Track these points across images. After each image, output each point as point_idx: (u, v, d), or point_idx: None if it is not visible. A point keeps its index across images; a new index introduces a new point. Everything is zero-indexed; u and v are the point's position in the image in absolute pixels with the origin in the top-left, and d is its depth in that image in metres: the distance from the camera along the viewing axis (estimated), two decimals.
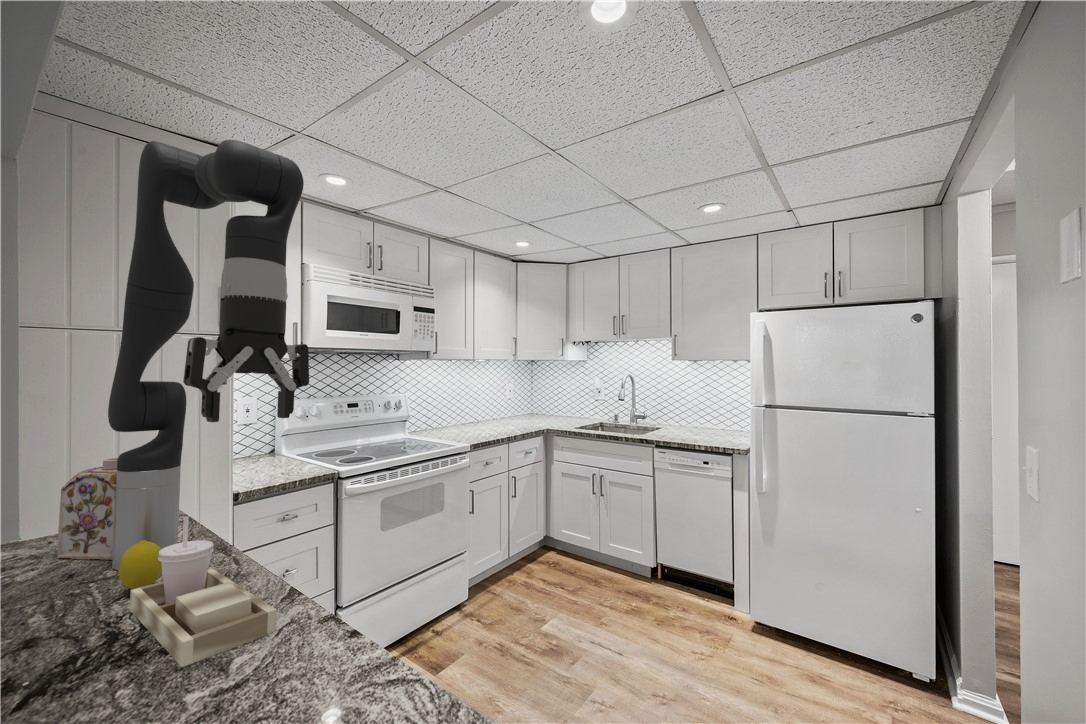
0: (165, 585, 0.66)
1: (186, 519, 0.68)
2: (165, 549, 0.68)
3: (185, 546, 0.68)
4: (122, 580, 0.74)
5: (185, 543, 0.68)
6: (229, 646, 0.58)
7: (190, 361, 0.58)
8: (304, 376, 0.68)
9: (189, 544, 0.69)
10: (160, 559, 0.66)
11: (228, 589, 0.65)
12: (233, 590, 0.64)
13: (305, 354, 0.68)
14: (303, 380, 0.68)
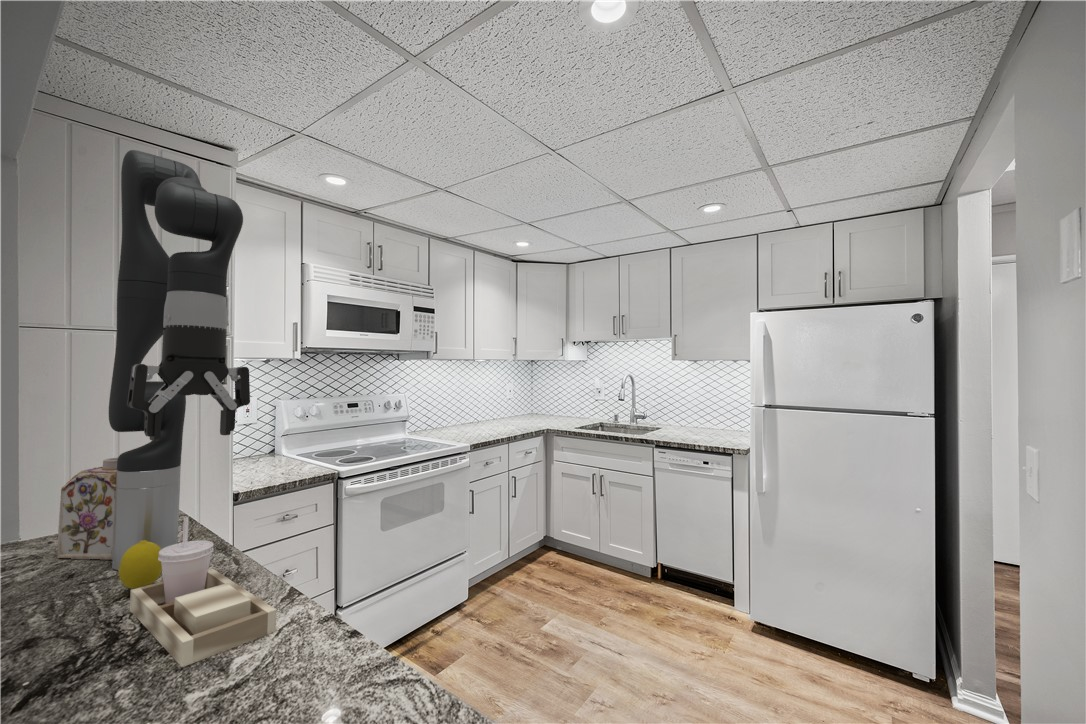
0: (165, 585, 0.66)
1: (186, 519, 0.68)
2: (165, 549, 0.68)
3: (185, 546, 0.68)
4: (122, 580, 0.74)
5: (185, 543, 0.68)
6: (229, 646, 0.58)
7: (132, 385, 0.64)
8: (245, 396, 0.74)
9: (189, 544, 0.69)
10: (160, 559, 0.66)
11: (227, 590, 0.65)
12: (232, 591, 0.64)
13: (246, 376, 0.74)
14: (244, 400, 0.74)
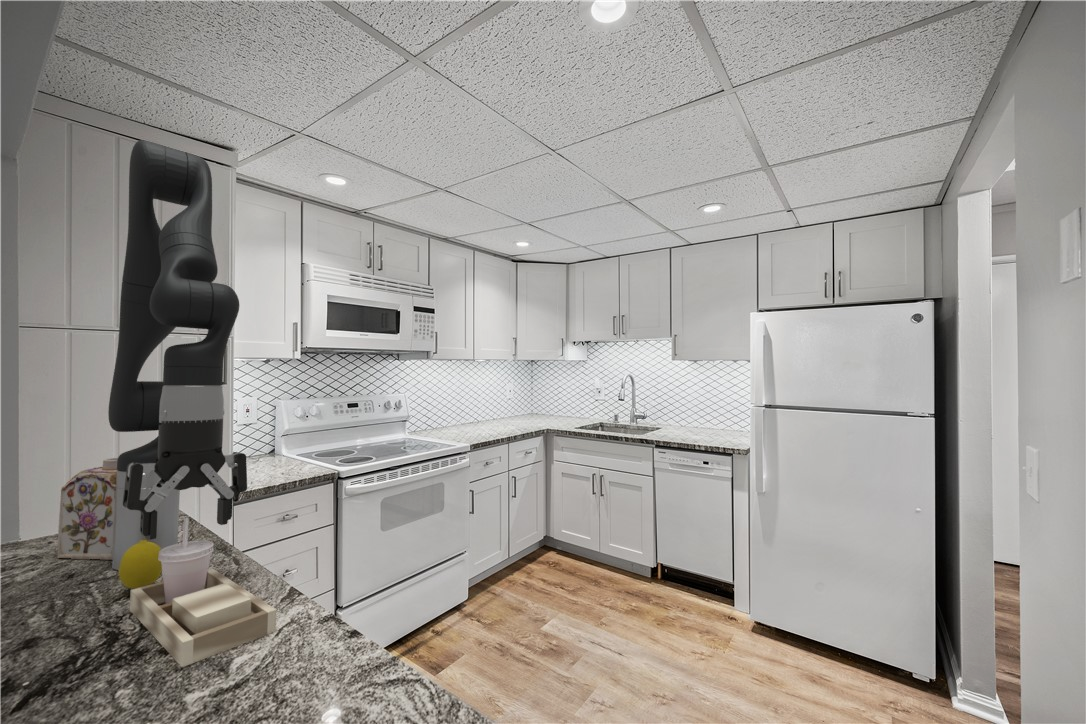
0: (165, 585, 0.66)
1: (186, 519, 0.68)
2: (165, 549, 0.68)
3: (185, 546, 0.68)
4: (122, 580, 0.74)
5: (185, 543, 0.68)
6: (229, 646, 0.58)
7: (127, 486, 0.63)
8: (242, 483, 0.73)
9: (189, 544, 0.69)
10: (160, 559, 0.66)
11: (226, 590, 0.64)
12: (231, 591, 0.64)
13: (243, 462, 0.73)
14: (241, 487, 0.73)
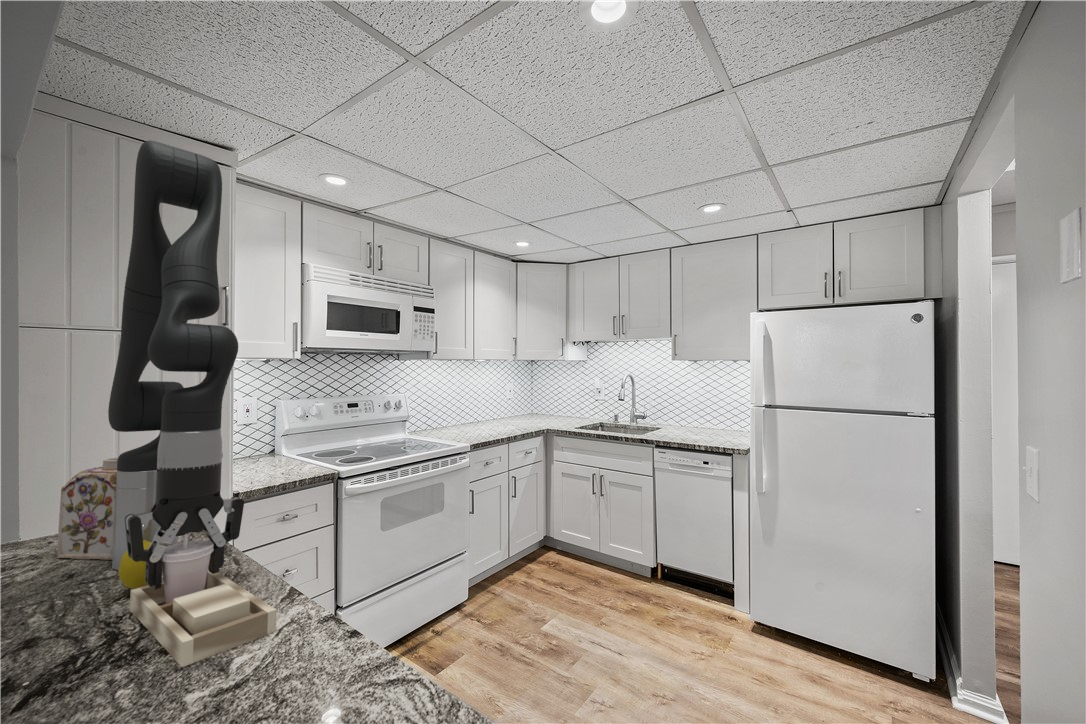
0: (165, 585, 0.66)
1: None
2: None
3: (185, 546, 0.68)
4: (122, 580, 0.74)
5: (185, 543, 0.68)
6: (229, 646, 0.58)
7: (129, 539, 0.63)
8: (235, 529, 0.72)
9: (189, 544, 0.69)
10: (160, 559, 0.66)
11: (226, 591, 0.64)
12: (231, 592, 0.64)
13: (240, 508, 0.73)
14: (233, 534, 0.72)
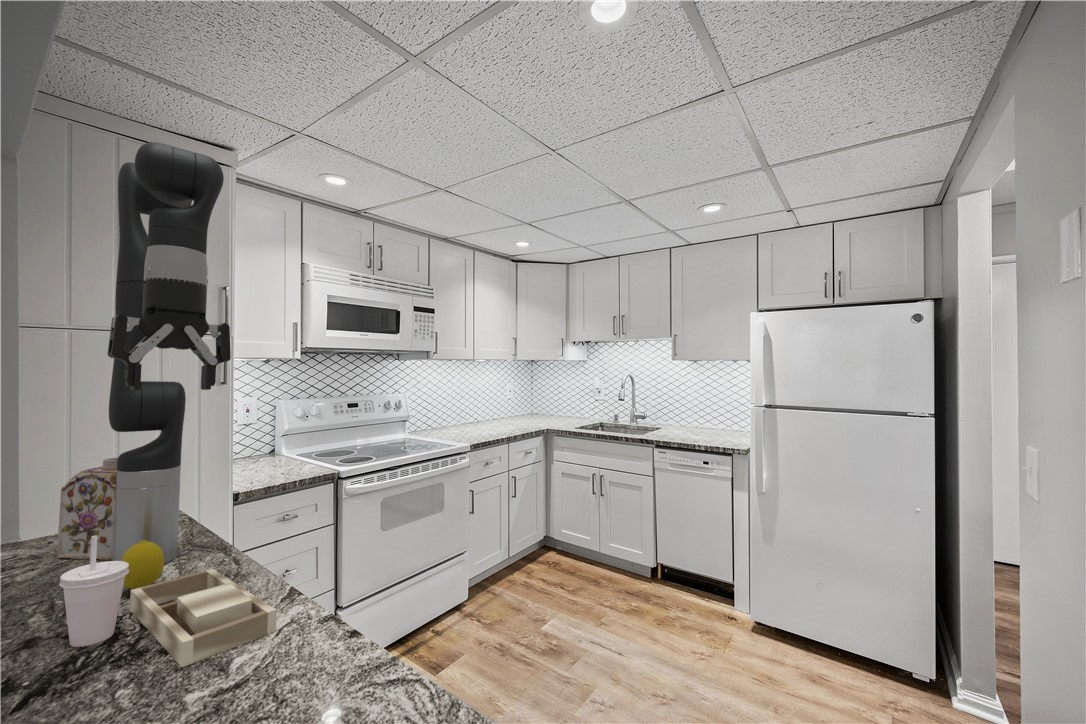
0: (67, 614, 0.58)
1: (94, 538, 0.60)
2: (70, 572, 0.59)
3: (93, 569, 0.59)
4: None
5: (93, 565, 0.59)
6: (229, 646, 0.58)
7: (112, 335, 0.65)
8: (225, 352, 0.75)
9: (100, 566, 0.61)
10: (61, 584, 0.57)
11: (229, 590, 0.65)
12: (234, 591, 0.64)
13: (226, 333, 0.75)
14: (224, 356, 0.75)
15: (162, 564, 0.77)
